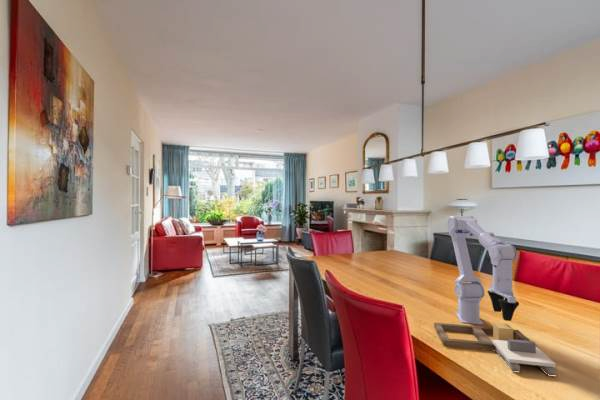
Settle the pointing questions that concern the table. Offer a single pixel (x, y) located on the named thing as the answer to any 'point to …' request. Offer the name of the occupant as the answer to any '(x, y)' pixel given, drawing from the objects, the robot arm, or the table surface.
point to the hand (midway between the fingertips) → (502, 315)
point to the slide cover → (523, 352)
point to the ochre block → (502, 331)
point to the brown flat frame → (480, 341)
